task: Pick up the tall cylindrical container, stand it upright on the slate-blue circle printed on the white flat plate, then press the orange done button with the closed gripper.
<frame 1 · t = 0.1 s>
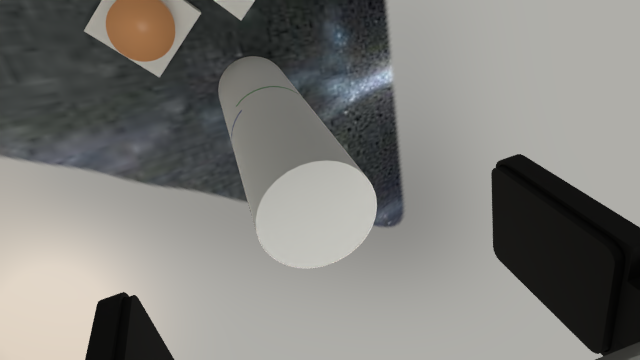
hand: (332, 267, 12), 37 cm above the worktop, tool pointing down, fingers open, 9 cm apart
button housing: (145, 18, 41), on the worktop
done button: (142, 26, 37), point 5 cm above the worktop, slide at 0.0 cm
cylindrical container: (253, 90, 47), on the worktop
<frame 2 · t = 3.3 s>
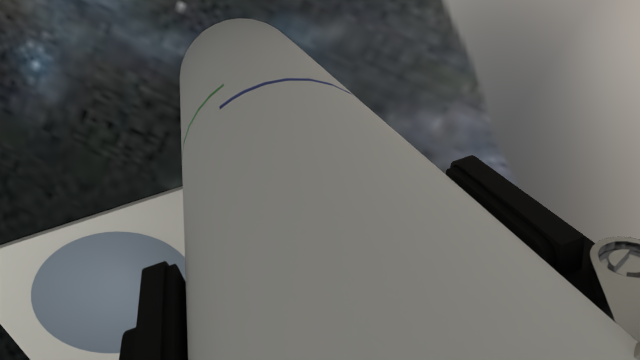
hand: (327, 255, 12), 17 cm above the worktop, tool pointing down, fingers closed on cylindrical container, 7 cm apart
white flat plate: (119, 291, 30), on the worktop
cylindrical container: (243, 82, 26), on the worktop, touching gripper
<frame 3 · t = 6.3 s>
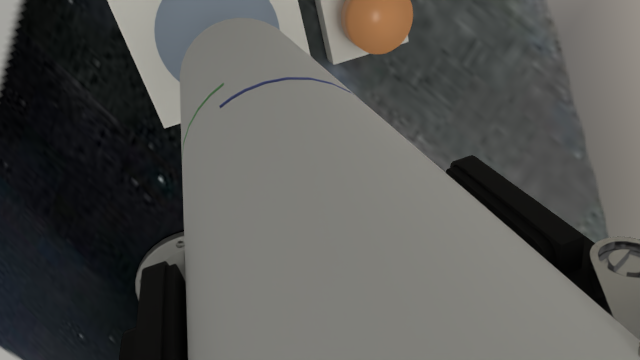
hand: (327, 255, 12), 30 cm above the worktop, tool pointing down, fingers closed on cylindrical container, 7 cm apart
white flat plate: (219, 36, 37), on the worktop
button housing: (356, 8, 39), on the worktop
done button: (376, 17, 36), point 5 cm above the worktop, slide at 0.0 cm
cylindrical container: (244, 81, 26), point 13 cm above the worktop, touching gripper
when the fingers open (18 cm above the worktop, at t = 9.4 s): cylindrical container stays where it is, resting on white flat plate.
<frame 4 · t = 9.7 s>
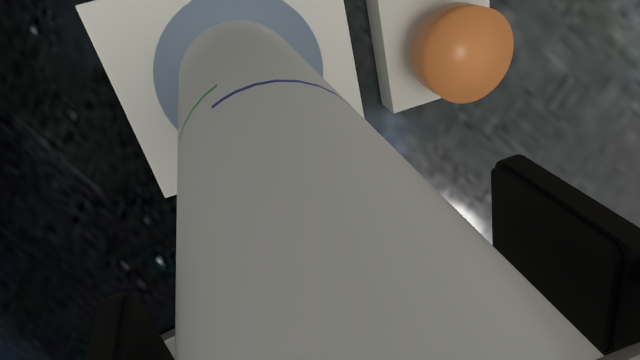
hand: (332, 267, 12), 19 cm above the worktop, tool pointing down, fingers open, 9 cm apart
white flat plate: (241, 76, 28), on the worktop
button housing: (423, 38, 30), on the worktop
done button: (461, 53, 26), point 5 cm above the worktop, slide at 0.0 cm
cylindrical container: (240, 81, 27), resting on white flat plate
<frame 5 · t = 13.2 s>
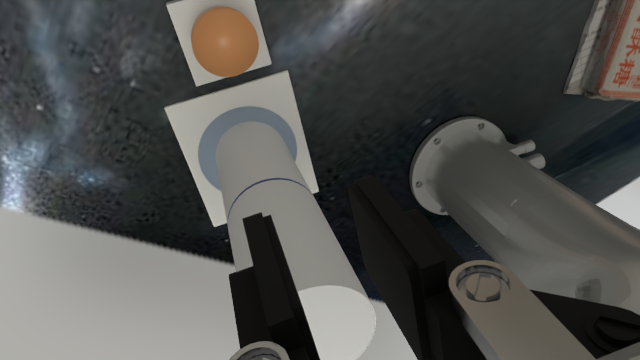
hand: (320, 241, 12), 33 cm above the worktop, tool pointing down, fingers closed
white flat plate: (248, 152, 47), on the worktop
button housing: (220, 32, 41), on the worktop
packaged product: (618, 16, 52), on the worktop
done button: (224, 42, 37), point 5 cm above the worktop, slide at 0.0 cm
cylindrical container: (250, 153, 47), resting on white flat plate
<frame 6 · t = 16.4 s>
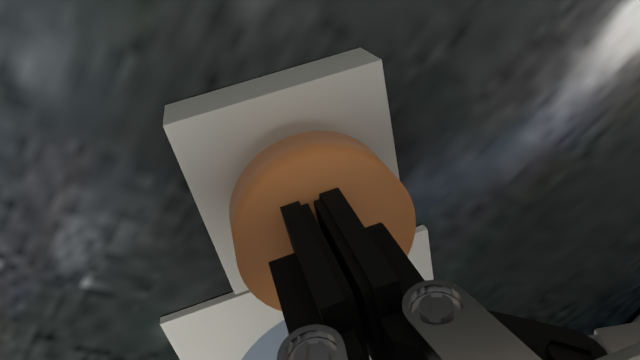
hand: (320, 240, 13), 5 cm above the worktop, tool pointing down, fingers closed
button housing: (290, 163, 17), on the worktop
done button: (320, 224, 14), point 4 cm above the worktop, slide at 0.2 cm, touching gripper
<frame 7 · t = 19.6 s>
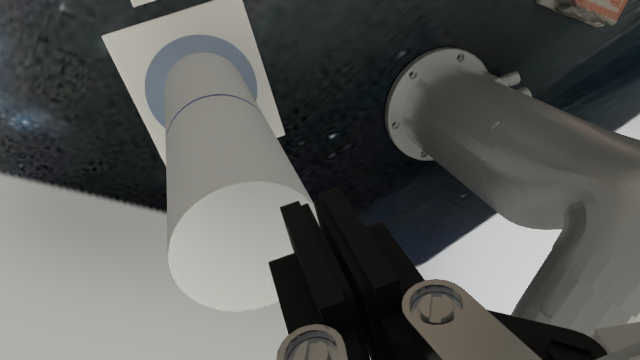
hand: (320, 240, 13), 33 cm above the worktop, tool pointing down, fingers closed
white flat plate: (202, 89, 42), on the worktop
cylindrical container: (205, 91, 42), resting on white flat plate
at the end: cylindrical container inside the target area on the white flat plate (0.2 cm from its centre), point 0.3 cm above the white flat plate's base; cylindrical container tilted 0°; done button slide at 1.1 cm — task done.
